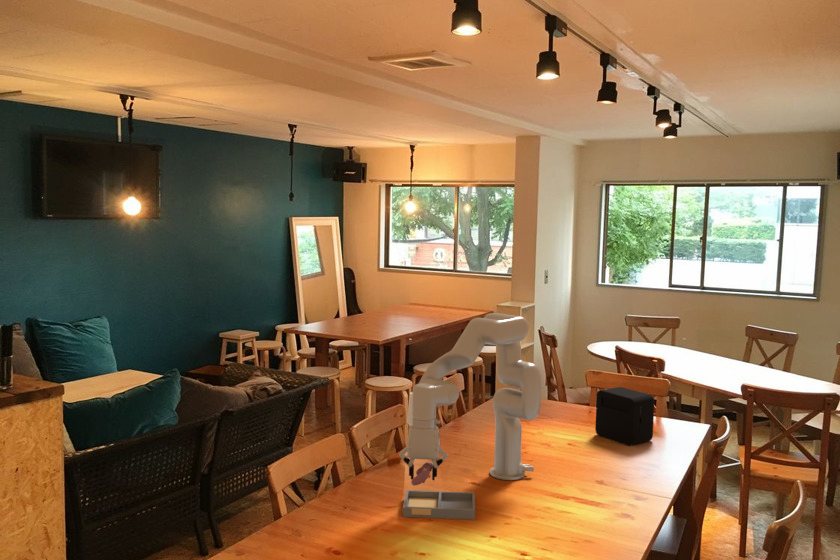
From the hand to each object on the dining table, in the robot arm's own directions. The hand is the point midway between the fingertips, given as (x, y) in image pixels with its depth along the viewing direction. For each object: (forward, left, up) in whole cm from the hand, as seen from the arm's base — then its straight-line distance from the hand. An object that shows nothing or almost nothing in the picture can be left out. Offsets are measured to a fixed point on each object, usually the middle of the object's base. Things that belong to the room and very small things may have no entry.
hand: (422, 477), depth 224 cm
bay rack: (-6, 0, -10) cm, 11 cm away
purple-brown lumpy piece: (0, 0, -1) cm, 1 cm away
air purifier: (-82, -82, -10) cm, 116 cm away
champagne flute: (+6, -53, -10) cm, 54 cm away
